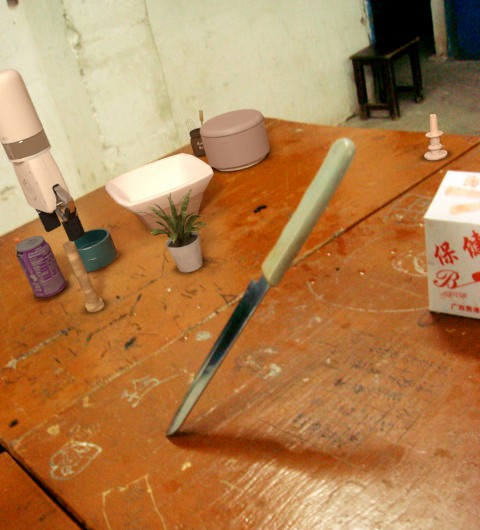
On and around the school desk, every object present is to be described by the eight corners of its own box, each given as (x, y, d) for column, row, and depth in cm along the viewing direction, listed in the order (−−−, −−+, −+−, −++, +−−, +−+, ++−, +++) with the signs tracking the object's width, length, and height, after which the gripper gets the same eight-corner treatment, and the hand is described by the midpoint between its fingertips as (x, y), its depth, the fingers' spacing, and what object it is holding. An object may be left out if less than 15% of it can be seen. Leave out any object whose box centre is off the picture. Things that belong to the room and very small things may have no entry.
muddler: (92, 314, 126) (64, 249, 118) (83, 309, 129) (56, 246, 121) (107, 305, 128) (80, 241, 120) (98, 300, 130) (72, 237, 123)
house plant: (158, 295, 126) (131, 221, 117) (148, 266, 138) (123, 197, 129) (226, 271, 128) (204, 196, 119) (210, 245, 139) (189, 175, 131)
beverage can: (44, 284, 143) (22, 236, 137) (72, 280, 141) (51, 232, 135) (30, 301, 137) (6, 253, 131) (59, 298, 135) (36, 249, 129)
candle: (437, 149, 153) (434, 106, 148) (452, 154, 149) (449, 110, 143) (419, 157, 152) (416, 114, 146) (433, 162, 148) (430, 118, 142)
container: (284, 148, 180) (275, 107, 173) (244, 175, 170) (233, 132, 164) (236, 146, 191) (227, 107, 185) (196, 171, 181) (185, 131, 175)
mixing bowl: (89, 278, 140) (79, 254, 137) (67, 267, 147) (57, 245, 144) (126, 256, 145) (118, 233, 142) (104, 247, 152) (95, 225, 149)
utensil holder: (190, 155, 194) (178, 117, 188) (205, 147, 197) (194, 109, 191) (202, 157, 190) (191, 118, 184) (217, 149, 193) (207, 110, 187)
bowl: (139, 251, 145) (124, 209, 140) (113, 220, 165) (98, 182, 160) (232, 213, 151) (220, 171, 145) (195, 187, 171) (184, 149, 165)
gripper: (-12, 150, 115) (29, 234, 124) (28, 159, 102) (70, 252, 111) (25, 134, 118) (61, 217, 127) (68, 141, 106) (105, 232, 115)
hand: (65, 233), depth 119 cm, fingers open, 9 cm apart
